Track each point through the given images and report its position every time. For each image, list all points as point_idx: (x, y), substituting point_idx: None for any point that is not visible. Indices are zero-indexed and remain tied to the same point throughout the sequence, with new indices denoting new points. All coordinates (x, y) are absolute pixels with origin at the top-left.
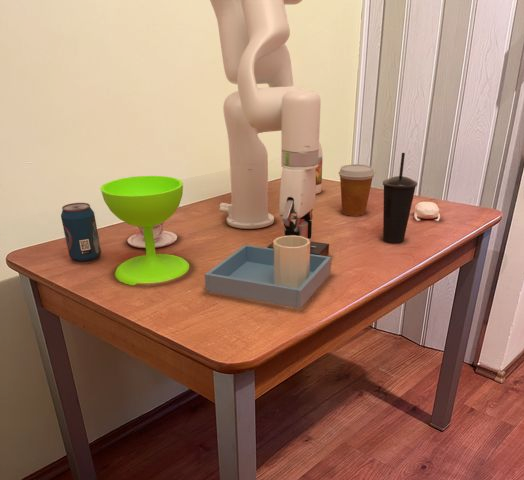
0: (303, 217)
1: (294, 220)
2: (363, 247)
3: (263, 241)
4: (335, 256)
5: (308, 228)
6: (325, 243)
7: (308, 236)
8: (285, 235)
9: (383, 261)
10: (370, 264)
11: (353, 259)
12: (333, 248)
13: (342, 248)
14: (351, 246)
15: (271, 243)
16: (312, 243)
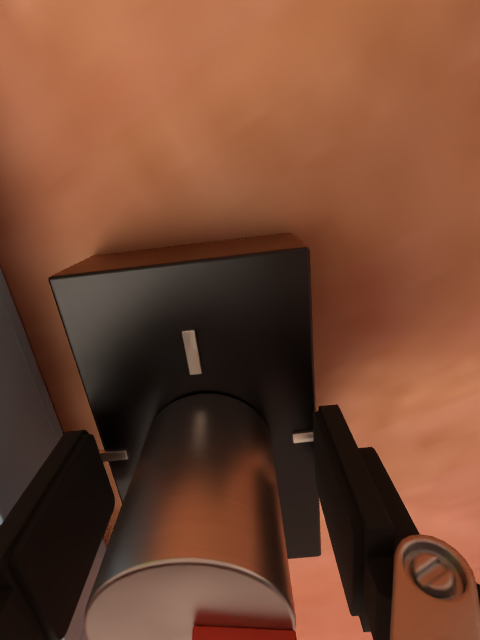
0: (385, 616)
1: (244, 579)
2: (475, 556)
3: (412, 7)
4: (322, 511)
5: (334, 546)
6: (316, 542)
7: (317, 489)
8: (14, 514)
9: (344, 636)
10: (296, 618)
11: (319, 568)
12: (423, 471)
13: (436, 500)
14: (474, 519)
15: (133, 270)
16: (283, 494)
